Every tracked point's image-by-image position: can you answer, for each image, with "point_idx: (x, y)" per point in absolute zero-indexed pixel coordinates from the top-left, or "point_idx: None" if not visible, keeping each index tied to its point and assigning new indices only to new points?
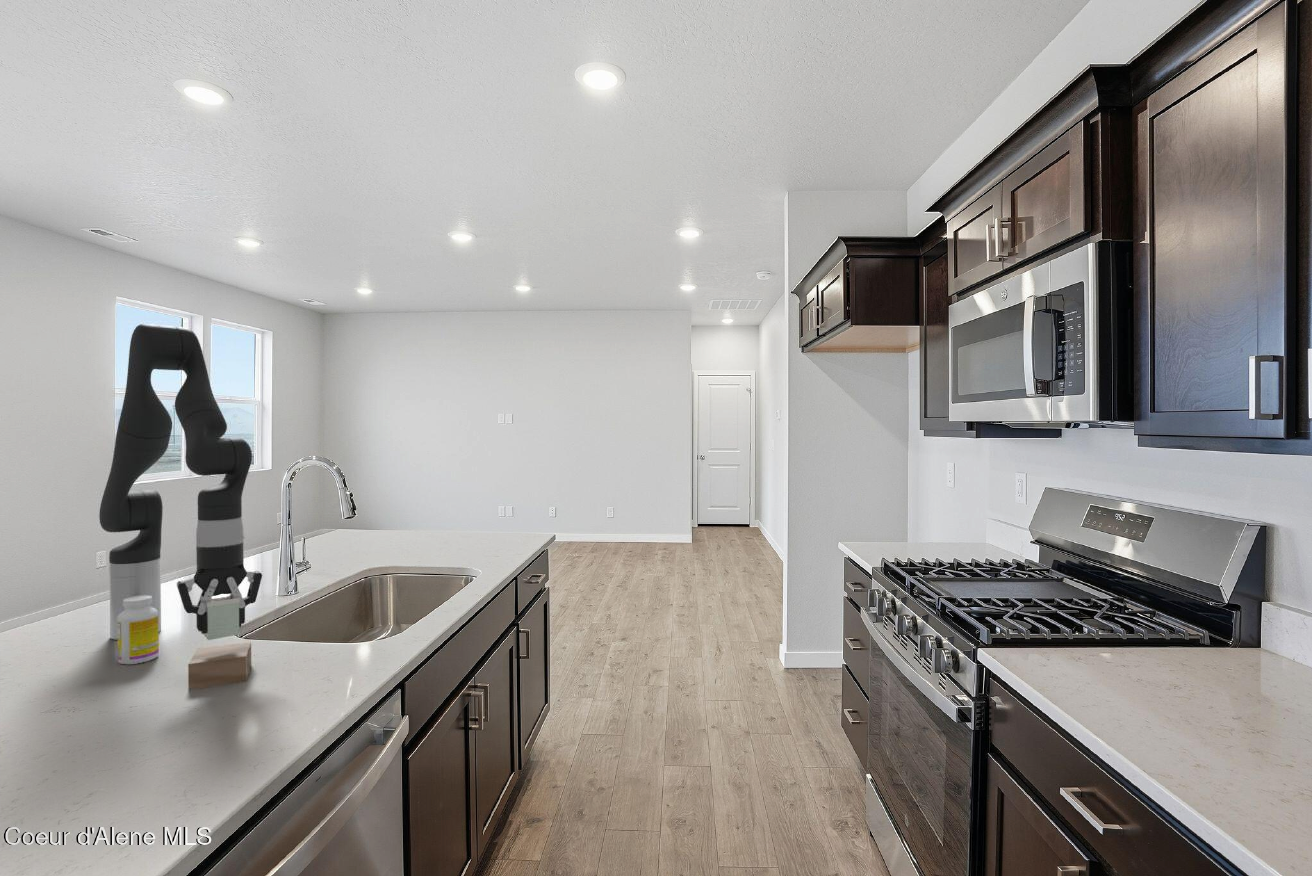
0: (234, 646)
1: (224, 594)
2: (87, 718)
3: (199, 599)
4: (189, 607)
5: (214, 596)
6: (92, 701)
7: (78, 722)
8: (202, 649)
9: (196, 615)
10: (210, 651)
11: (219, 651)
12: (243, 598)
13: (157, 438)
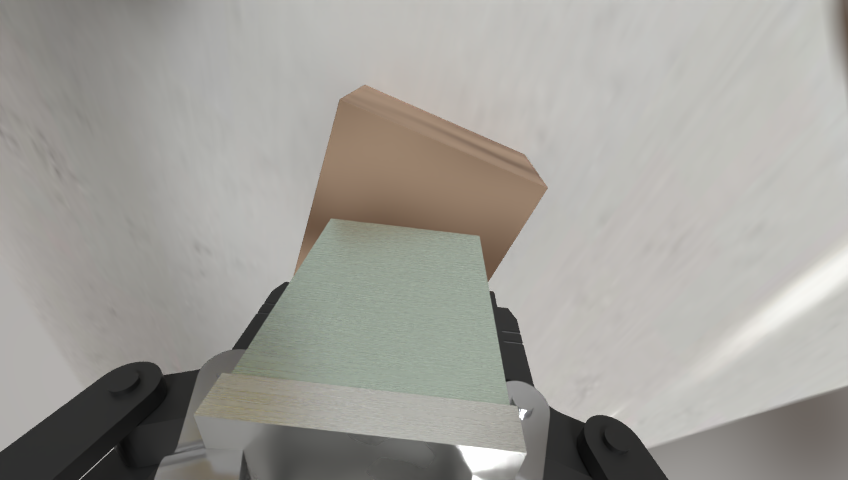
0: (472, 196)
1: (417, 452)
2: (114, 247)
3: (175, 451)
4: (141, 469)
5: (312, 456)
6: (78, 124)
7: (102, 257)
8: (357, 132)
9: (234, 348)
10: (378, 191)
11: (407, 216)
12: (550, 461)
13: None
